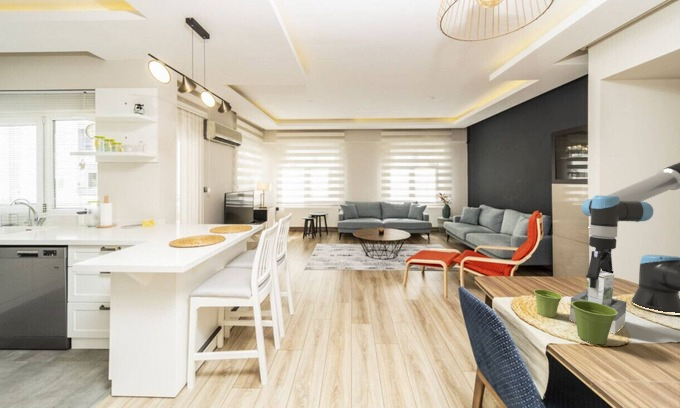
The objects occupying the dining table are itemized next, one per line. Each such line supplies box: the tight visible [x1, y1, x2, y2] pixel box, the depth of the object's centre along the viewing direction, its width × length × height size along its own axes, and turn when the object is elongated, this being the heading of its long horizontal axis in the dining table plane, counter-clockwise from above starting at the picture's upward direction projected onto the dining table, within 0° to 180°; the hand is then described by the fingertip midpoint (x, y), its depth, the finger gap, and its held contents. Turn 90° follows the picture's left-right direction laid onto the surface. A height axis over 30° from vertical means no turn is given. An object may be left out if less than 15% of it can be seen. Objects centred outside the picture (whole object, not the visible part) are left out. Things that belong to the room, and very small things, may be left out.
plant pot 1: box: [533, 289, 563, 318], centre depth 118 cm, size 9×9×9 cm
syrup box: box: [585, 270, 615, 307], centre depth 111 cm, size 6×6×14 cm
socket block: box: [569, 291, 627, 335], centre depth 111 cm, size 13×13×9 cm
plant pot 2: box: [570, 301, 618, 346], centre depth 99 cm, size 12×12×11 cm
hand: (598, 292), depth 111 cm, fingers open, 13 cm apart
